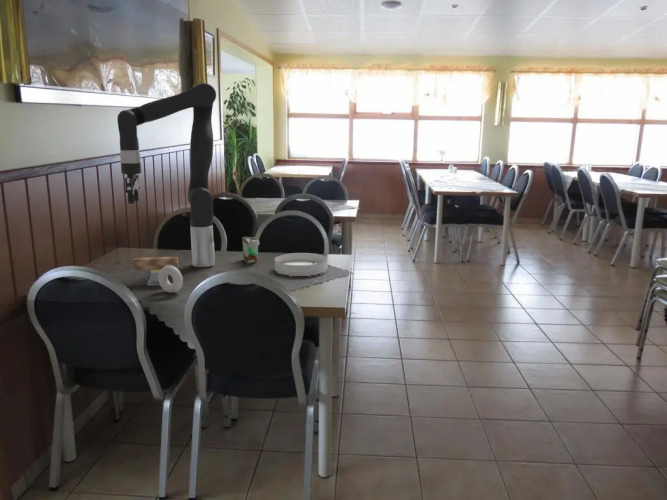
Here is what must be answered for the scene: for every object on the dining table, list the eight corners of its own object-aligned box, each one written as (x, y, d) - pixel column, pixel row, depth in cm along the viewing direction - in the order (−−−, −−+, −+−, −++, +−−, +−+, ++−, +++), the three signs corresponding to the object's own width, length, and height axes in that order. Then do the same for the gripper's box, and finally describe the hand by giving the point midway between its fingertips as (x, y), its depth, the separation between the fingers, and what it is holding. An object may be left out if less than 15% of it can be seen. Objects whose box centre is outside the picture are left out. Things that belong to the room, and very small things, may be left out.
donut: (185, 293, 198) (184, 266, 196) (179, 295, 195) (177, 268, 192) (163, 289, 202) (161, 263, 199) (157, 292, 199) (155, 265, 196)
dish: (312, 280, 216) (312, 267, 215) (264, 273, 225) (264, 261, 224) (336, 267, 236) (336, 255, 234) (290, 261, 244) (290, 250, 243)
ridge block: (167, 279, 215) (166, 265, 214) (164, 285, 207) (163, 270, 206) (151, 279, 214) (150, 266, 213) (147, 285, 206) (146, 271, 205)
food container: (263, 263, 239) (262, 241, 237) (249, 265, 237) (248, 242, 235) (256, 257, 250) (255, 236, 248) (242, 258, 248) (242, 236, 246)
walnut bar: (178, 266, 212) (178, 256, 211) (177, 268, 209) (176, 258, 208) (135, 267, 210) (134, 257, 209) (133, 270, 207) (132, 259, 206)
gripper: (136, 162, 213) (139, 204, 217) (143, 160, 227) (146, 199, 231) (116, 163, 212) (119, 204, 216) (124, 160, 226) (127, 199, 230)
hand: (133, 202), depth 223 cm, fingers open, 8 cm apart
